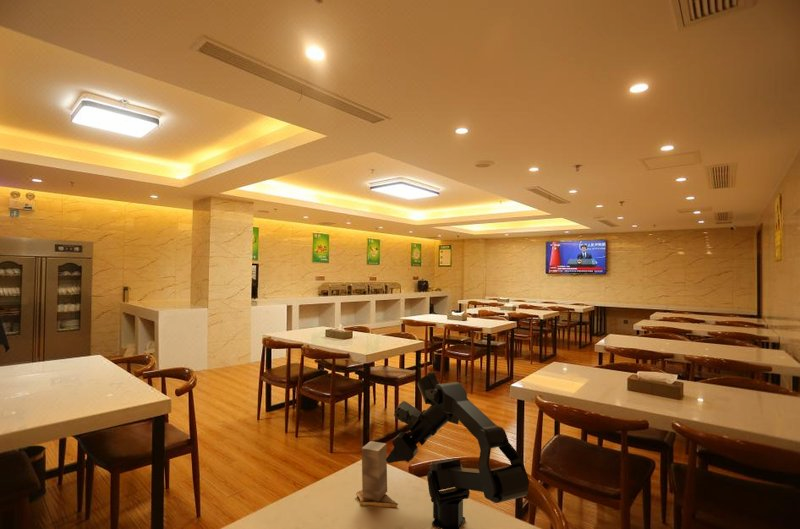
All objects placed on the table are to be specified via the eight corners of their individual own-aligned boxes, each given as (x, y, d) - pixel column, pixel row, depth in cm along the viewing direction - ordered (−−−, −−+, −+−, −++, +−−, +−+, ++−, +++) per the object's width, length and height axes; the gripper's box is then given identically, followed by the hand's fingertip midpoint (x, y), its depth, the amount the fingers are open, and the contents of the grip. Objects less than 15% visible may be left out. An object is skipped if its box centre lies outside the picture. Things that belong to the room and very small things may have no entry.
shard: (398, 509, 103) (398, 502, 103) (373, 520, 98) (373, 513, 98) (375, 490, 112) (375, 484, 112) (352, 499, 107) (352, 493, 107)
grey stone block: (387, 491, 108) (386, 443, 108) (379, 501, 103) (378, 451, 104) (371, 488, 110) (370, 441, 110) (362, 497, 105) (361, 448, 106)
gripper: (423, 384, 113) (388, 417, 117) (400, 405, 96) (359, 442, 99) (450, 416, 110) (412, 448, 114) (430, 443, 93) (387, 480, 96)
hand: (393, 453), depth 106 cm, fingers open, 9 cm apart
